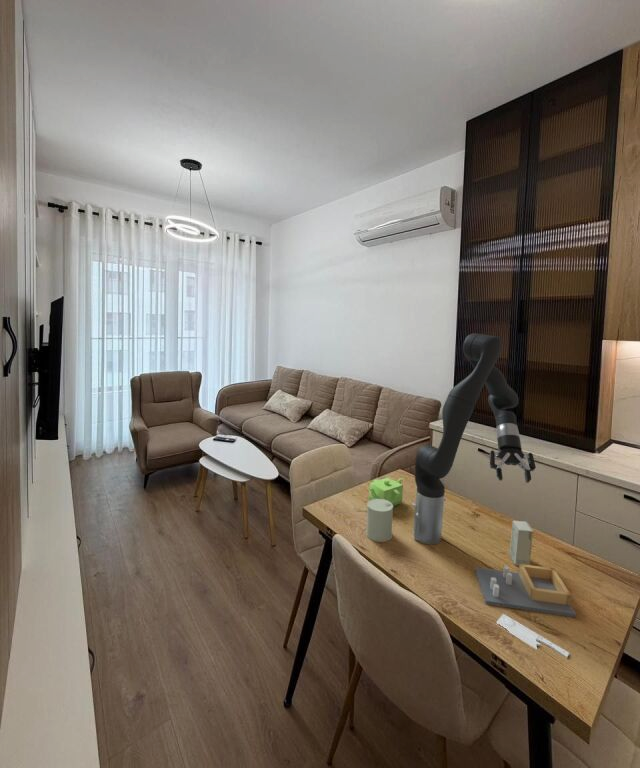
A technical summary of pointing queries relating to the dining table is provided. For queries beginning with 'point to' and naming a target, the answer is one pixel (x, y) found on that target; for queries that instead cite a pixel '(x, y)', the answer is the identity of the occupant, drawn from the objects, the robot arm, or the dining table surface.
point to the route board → (526, 589)
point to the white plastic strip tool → (528, 634)
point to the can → (379, 520)
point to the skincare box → (521, 543)
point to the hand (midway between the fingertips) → (514, 480)
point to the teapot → (387, 490)
